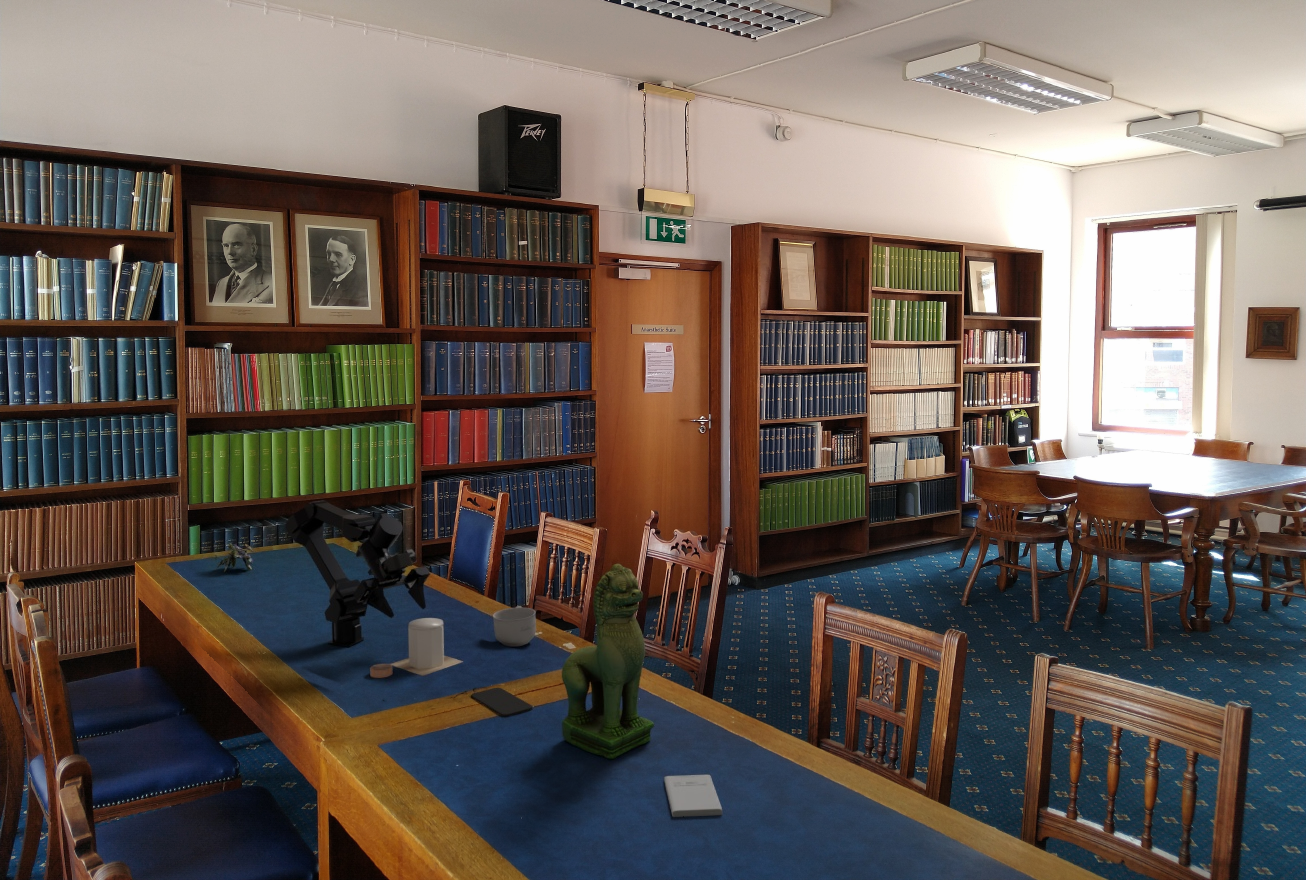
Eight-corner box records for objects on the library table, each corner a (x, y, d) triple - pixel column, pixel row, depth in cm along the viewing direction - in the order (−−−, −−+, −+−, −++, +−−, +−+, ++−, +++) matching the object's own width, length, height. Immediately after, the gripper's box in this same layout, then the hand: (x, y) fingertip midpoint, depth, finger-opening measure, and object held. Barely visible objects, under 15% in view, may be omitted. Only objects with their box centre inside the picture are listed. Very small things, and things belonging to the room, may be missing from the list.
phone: (499, 686, 205) (535, 706, 193) (499, 690, 205) (535, 710, 193) (469, 694, 200) (503, 715, 189) (469, 697, 200) (503, 719, 189)
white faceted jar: (424, 670, 211) (423, 629, 210) (402, 663, 216) (401, 623, 215) (450, 661, 217) (450, 622, 216) (429, 655, 222) (428, 615, 221)
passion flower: (249, 585, 310) (261, 560, 306) (215, 585, 303) (227, 558, 298) (241, 561, 317) (254, 536, 312) (208, 560, 309) (220, 534, 305)
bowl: (366, 682, 208) (365, 669, 207) (378, 675, 212) (378, 662, 212) (384, 685, 206) (384, 671, 206) (396, 677, 210) (396, 664, 210)
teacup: (527, 651, 230) (527, 619, 229) (486, 648, 232) (486, 616, 231) (545, 634, 243) (545, 604, 243) (506, 631, 246) (506, 602, 245)
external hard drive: (672, 820, 150) (664, 784, 162) (722, 818, 150) (710, 782, 163) (672, 810, 149) (664, 775, 162) (722, 808, 150) (710, 773, 163)
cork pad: (389, 670, 215) (389, 664, 215) (430, 656, 225) (430, 650, 225) (422, 682, 208) (422, 675, 208) (463, 667, 218) (463, 661, 217)
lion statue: (614, 764, 168) (615, 575, 164) (550, 739, 178) (550, 561, 175) (661, 740, 178) (663, 562, 175) (598, 718, 189) (599, 549, 185)
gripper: (359, 546, 213) (390, 601, 208) (424, 534, 228) (455, 584, 222) (340, 574, 219) (370, 629, 213) (405, 560, 233) (434, 611, 228)
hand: (408, 612), depth 219 cm, fingers open, 9 cm apart
